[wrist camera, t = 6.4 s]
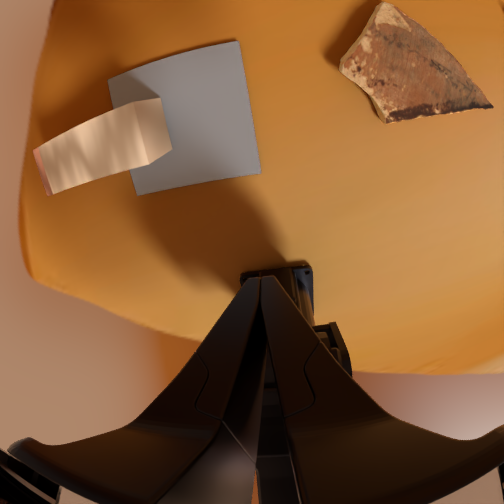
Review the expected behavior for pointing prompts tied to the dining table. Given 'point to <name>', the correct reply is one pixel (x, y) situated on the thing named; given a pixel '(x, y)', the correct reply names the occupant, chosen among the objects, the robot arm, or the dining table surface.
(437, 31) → the dining table surface
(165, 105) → the mat
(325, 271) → the dining table surface
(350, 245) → the dining table surface
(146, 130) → the block
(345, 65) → the shard
